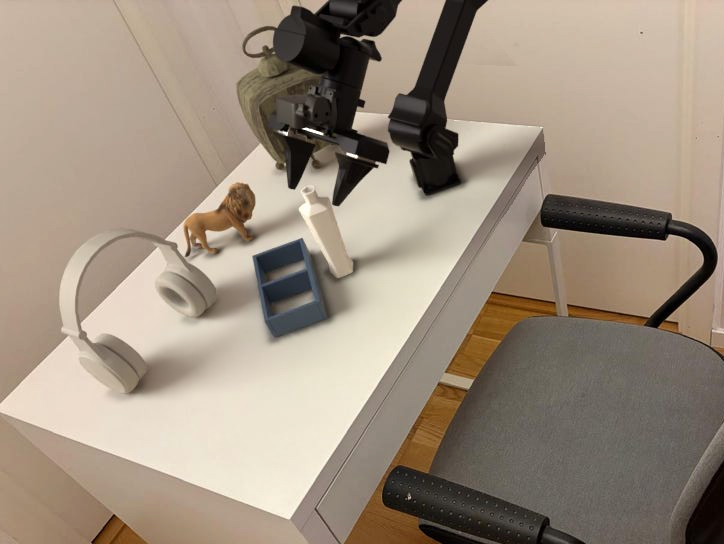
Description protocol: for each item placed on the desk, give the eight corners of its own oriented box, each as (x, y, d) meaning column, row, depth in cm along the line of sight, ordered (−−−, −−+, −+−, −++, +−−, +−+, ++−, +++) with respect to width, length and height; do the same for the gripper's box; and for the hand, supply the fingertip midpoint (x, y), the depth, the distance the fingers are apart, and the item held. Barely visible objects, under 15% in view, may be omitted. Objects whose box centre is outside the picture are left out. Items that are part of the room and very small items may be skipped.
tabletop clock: (339, 136, 139) (289, 3, 121) (358, 156, 134) (309, 20, 115) (269, 170, 136) (207, 38, 118) (286, 192, 130) (223, 57, 112)
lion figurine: (265, 215, 127) (243, 172, 120) (273, 232, 124) (251, 187, 117) (183, 251, 124) (156, 209, 118) (189, 269, 121) (162, 226, 114)
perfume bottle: (328, 262, 116) (292, 183, 104) (355, 256, 115) (322, 177, 104) (326, 282, 113) (289, 203, 101) (354, 276, 112) (320, 196, 101)
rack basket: (310, 254, 118) (302, 237, 115) (328, 318, 107) (319, 301, 105) (261, 272, 117) (252, 255, 115) (274, 338, 107) (264, 321, 104)
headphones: (189, 292, 117) (123, 193, 103) (228, 303, 113) (165, 203, 99) (98, 387, 107) (10, 291, 92) (138, 402, 103) (53, 306, 89)
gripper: (249, 54, 99) (224, 170, 102) (346, 79, 89) (315, 206, 93) (311, 79, 108) (286, 184, 111) (405, 103, 98) (374, 218, 102)
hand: (312, 197), depth 104 cm, fingers open, 9 cm apart
